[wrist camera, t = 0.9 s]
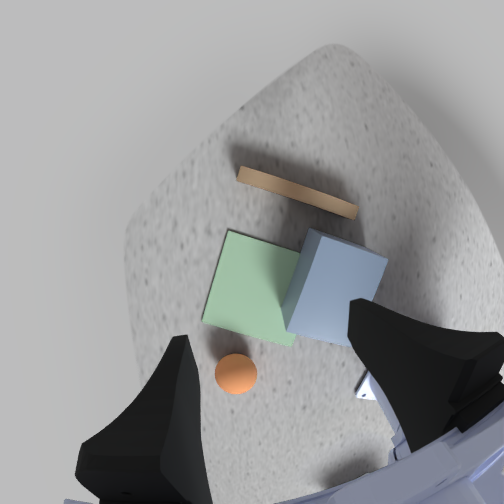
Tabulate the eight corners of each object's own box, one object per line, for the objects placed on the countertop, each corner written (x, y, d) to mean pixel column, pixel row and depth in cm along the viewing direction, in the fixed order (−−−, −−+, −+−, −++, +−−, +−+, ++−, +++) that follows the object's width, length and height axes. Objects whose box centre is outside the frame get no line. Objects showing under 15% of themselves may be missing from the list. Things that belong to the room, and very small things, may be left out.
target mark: (324, 260, 26) (325, 261, 26) (291, 345, 28) (291, 346, 28) (228, 230, 26) (228, 230, 25) (202, 320, 27) (201, 321, 27)
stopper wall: (349, 205, 25) (359, 206, 23) (345, 217, 25) (354, 220, 23) (242, 168, 25) (241, 165, 22) (237, 181, 25) (236, 180, 22)
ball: (262, 352, 28) (263, 374, 24) (249, 382, 29) (249, 406, 25) (223, 341, 28) (218, 363, 24) (212, 372, 29) (208, 395, 25)
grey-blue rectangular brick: (365, 247, 26) (388, 259, 21) (335, 322, 27) (350, 347, 23) (309, 227, 26) (322, 235, 21) (280, 307, 27) (286, 331, 22)
